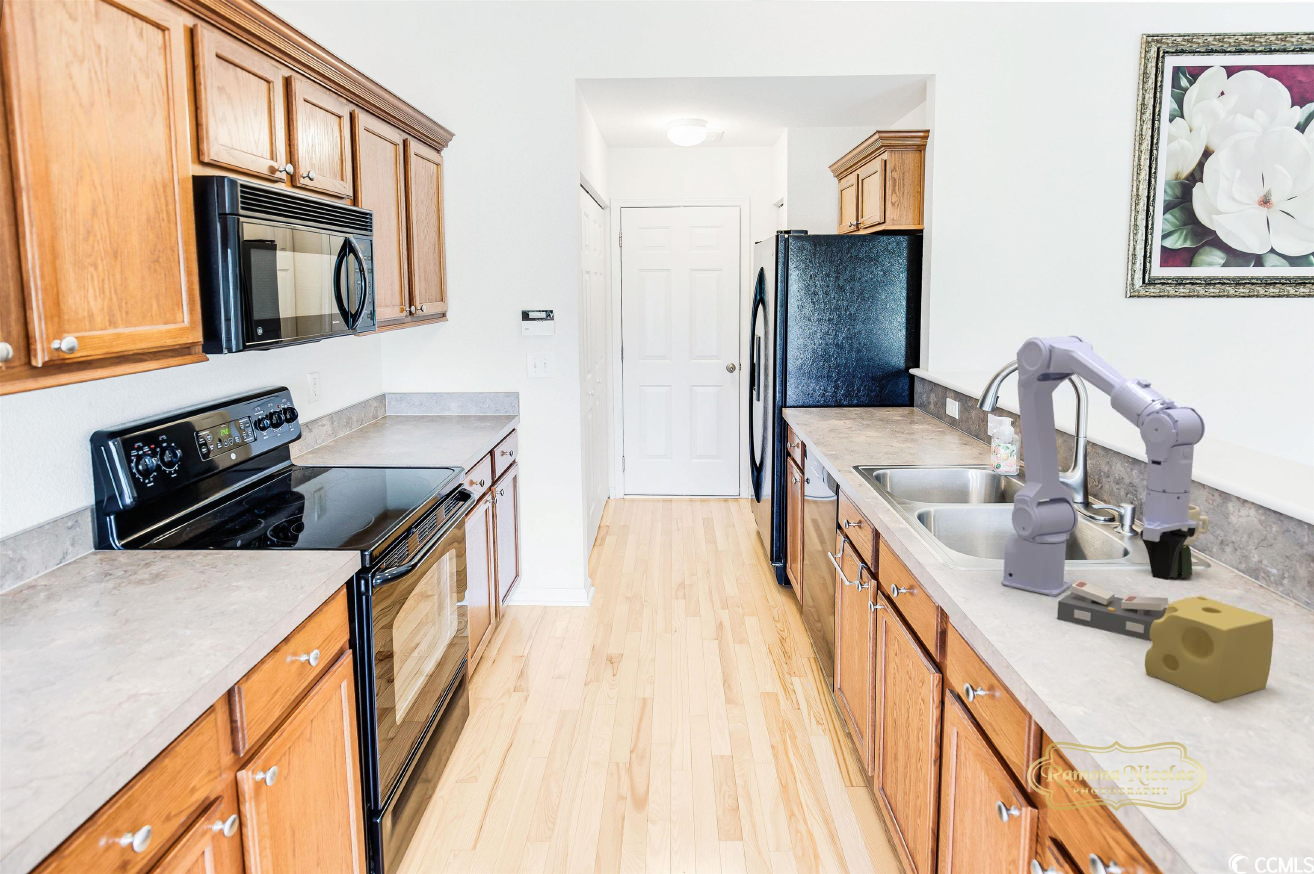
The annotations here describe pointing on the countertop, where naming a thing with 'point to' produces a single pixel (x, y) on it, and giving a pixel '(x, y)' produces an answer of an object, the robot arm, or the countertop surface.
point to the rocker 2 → (1144, 603)
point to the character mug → (1184, 556)
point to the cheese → (1211, 648)
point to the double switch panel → (1108, 615)
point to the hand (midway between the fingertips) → (1161, 577)
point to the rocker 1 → (1092, 592)
